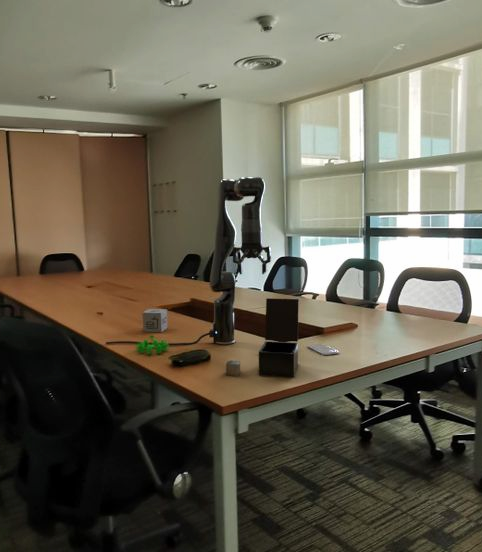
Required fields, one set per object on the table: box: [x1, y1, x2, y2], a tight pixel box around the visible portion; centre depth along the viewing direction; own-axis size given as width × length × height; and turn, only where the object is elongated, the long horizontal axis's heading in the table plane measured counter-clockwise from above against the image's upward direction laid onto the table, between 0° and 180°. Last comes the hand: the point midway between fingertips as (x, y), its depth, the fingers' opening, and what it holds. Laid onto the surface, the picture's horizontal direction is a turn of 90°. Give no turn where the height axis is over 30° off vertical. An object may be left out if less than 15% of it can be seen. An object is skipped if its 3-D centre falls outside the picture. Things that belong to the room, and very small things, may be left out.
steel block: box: [225, 360, 241, 377], centre depth 183 cm, size 4×4×4 cm
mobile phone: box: [307, 343, 339, 356], centre depth 213 cm, size 8×1×15 cm
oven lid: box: [264, 297, 300, 343], centre depth 197 cm, size 17×13×5 cm
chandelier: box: [135, 334, 170, 356], centre depth 217 cm, size 15×15×7 cm
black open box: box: [258, 340, 299, 378], centre depth 187 cm, size 16×13×9 cm
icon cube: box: [142, 308, 168, 333], centre depth 258 cm, size 10×10×10 cm
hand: (252, 274), depth 186 cm, fingers open, 8 cm apart
